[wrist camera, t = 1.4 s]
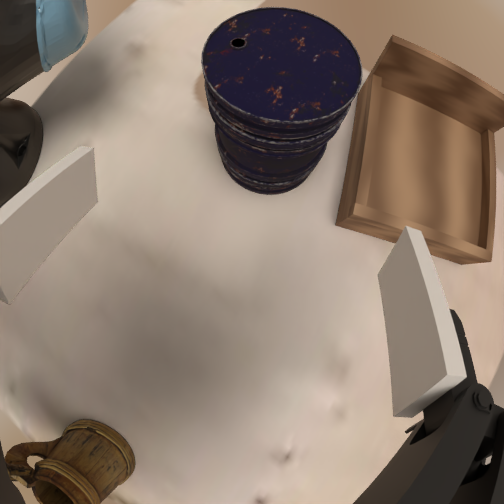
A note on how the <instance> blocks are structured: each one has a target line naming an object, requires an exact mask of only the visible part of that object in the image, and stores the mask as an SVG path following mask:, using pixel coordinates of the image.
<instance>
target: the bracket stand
mask: <svg viewBox="0 0 504 504" xmlns="http://www.w3.org/2000/svg"><path fill="white" fill-rule="evenodd" d="M502 127H504V94H502V93H501V92H499V91H498V90H496V89H495V88H493V87H492V86H490V85H489V84H487V83H486V82H484V81H482V80H481V79H479V78H478V77H476V76H474V75H473V74H471V73H469V72H467V71H466V70H464V69H462V68H461V67H459V66H457V65H455V64H453V63H451V62H450V61H448V60H446V59H444V58H442V57H440V56H438V55H436V54H434V53H432V52H430V51H428V50H426V49H424V48H422V47H419V46H417V45H415V44H413V43H411V42H408V41H406V40H404V39H402V38H399V37H397V36H394V35H392V36H391V38H390V40H389V42H388V43H387V45H386V47H385V49H384V50H383V52H382V54H381V56H380V57H379V59H378V61H377V62H376V64H375V66H374V68H373V70H372V71H371V73H370V74H369V76H368V78H367V79H366V81H365V83H364V85H363V86H362V88H361V90H360V91H359V93H358V98H357V105H356V113H355V119H354V126H353V133H352V139H351V145H350V151H349V157H348V163H347V168H346V174H345V179H344V185H343V190H342V195H341V200H340V205H339V210H338V215H337V220H336V226H340V227H343V228H347V229H350V230H353V231H357V232H360V233H364V234H367V235H370V236H374V237H377V238H380V239H384V240H387V241H390V242H393V243H396V242H397V241H398V239H399V237H400V235H401V233H402V231H403V230H404V228H405V226H408V227H411V228H414V229H417V230H420V231H421V232H422V234H423V237H424V239H425V242H426V244H427V247H428V249H429V252H430V254H431V255H434V256H437V257H440V258H443V259H446V260H449V261H452V262H455V263H458V264H461V265H462V264H473V263H484V262H491V260H492V251H493V241H494V229H495V212H496V158H495V140H494V132H496V131H498V130H499V129H501V128H502Z"/></svg>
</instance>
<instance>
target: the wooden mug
mask: <svg viewBox="0 0 504 504" xmlns="http://www.w3.org/2000/svg"><path fill="white" fill-rule="evenodd" d="M29 456H39V457H41V458H43V459H44V460H41V461H39V462H36V464H35V470H34V469H33V468H32V467H30V466H29V465H28V463H27V457H29ZM5 463H6V467H7V471H8V474H9V477H10V479H11V481H19V482H20V483H22V484H23V485H24V486H26V487H27V488H31V487H32V490H33V493H34V495H35V497H36V499H37V501H38V502H39V503H40V504H100V503H101V502H102V501H103V500H104V499H105V498H106V497H107V496H108V495H109V494H110V493H111V492H112V491H113V490H114V489H115V488H116V487H117V486H118V485H121V484H122V483H124V482H125V481H126V480H127V479H128V478H129V477H130V476H131V474H132V473H133V471H134V468H135V459H134V455H133V452H132V450H131V448H130V446H129V445H128V443H127V442H126V440H125V439H124V438H123V437H122V436H121V435H119V434H118V433H117V432H116V431H114V430H113V429H111V428H110V427H108V426H106V425H104V424H101V423H99V422H96V421H93V420H79V421H76V422H74V423H72V424H71V425H69V426H68V427H67V428H66V429H65V431H64V432H63V434H62V436H61V437H60V438H58V439H56V440H54V441H49V442H29V443H21V444H18V445H15V446H13V447H12V448H11V449H10V450H9V451H8V452H7V454H6V456H5Z"/></svg>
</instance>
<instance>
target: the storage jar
mask: <svg viewBox="0 0 504 504" xmlns="http://www.w3.org/2000/svg"><path fill="white" fill-rule="evenodd" d="M201 62H202V69H203V74H204V78H205V90H206V96H207V101H208V106H209V111H210V113H211V116H212V119H213V120H214V122H215V136H216V141H217V145H218V150H219V153H220V156H221V158H222V162H223V164H224V167H225V169H226V171H227V172H228V174H229V175H230V176H231V178H232V179H233V180H234V181H235V182H236V183H238V184H239V185H240V186H242V187H244V188H245V189H247V190H250V191H252V192H255V193H259V194H266V195H272V194H281V193H285V192H288V191H290V190H292V189H294V188H296V187H297V186H299V185H300V184H302V183H303V182H304V181H305V180H306V179H307V177H308V176H309V174H310V173H311V172H312V171H313V170H314V168H315V167H316V165H317V164H318V162H319V161H320V159H321V158H322V156H323V154H324V152H325V150H326V146H327V142H328V141H329V140H330V139H331V138H332V137H333V136H334V135H335V133H336V132H337V130H338V129H339V127H340V125H341V123H342V121H343V120H344V118H345V117H346V115H347V113H348V111H349V108H350V106H351V102H352V101H353V99H354V98H355V96H356V94H357V92H358V90H359V87H360V85H361V81H362V64H361V60H360V57H359V55H358V53H357V51H356V49H355V47H354V45H353V44H352V43H351V41H350V40H349V39H348V38H347V37H346V36H345V34H344V33H343V32H341V31H340V30H339V29H338V28H337V27H335V26H334V25H332V24H331V23H329V22H328V21H326V20H324V19H322V18H320V17H318V16H316V15H313V14H311V13H308V12H305V11H301V10H297V9H291V8H284V7H266V8H258V9H252V10H248V11H245V12H242V13H239V14H237V15H235V16H232V17H230V18H229V19H227V20H226V21H224V22H222V23H221V24H220V25H219V26H218V27H217V28H215V29H214V31H213V32H212V33H211V34H210V36H209V37H208V39H207V41H206V43H205V45H204V48H203V51H202V60H201Z"/></svg>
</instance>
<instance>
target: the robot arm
mask: <svg viewBox="0 0 504 504" xmlns="http://www.w3.org/2000/svg"><path fill="white" fill-rule="evenodd" d="M87 34H88V14H87V7H86V0H0V300H2V301H4V302H5V303H7V304H9V305H10V304H11V303H12V301H13V300H14V299H15V297H16V296H17V295H18V293H19V292H20V291H21V289H22V288H23V287H24V285H25V284H26V283H27V282H28V280H29V279H30V278H31V277H32V275H33V274H34V273H35V272H36V270H37V269H38V268H39V267H40V265H41V264H42V263H43V262H44V261H45V259H46V258H47V257H48V256H49V255H50V253H51V252H52V251H53V250H54V249H55V248H56V246H57V245H58V244H59V243H60V242H61V241H62V240H63V238H64V237H65V236H66V235H67V234H68V233H69V232H70V231H71V230H72V229H73V227H74V226H75V225H76V224H77V223H78V222H79V221H80V220H81V219H82V218H83V217H84V216H85V215H86V214H87V213H88V212H89V210H90V209H91V208H92V207H93V206H94V205H95V204H96V203H97V202H98V198H97V187H96V175H95V160H94V148H91V147H84V146H79V147H78V148H77V149H75V150H74V151H72V152H71V153H69V154H68V155H66V156H65V157H64V158H62V159H61V160H59V161H58V162H57V163H55V164H54V165H53V166H51V167H50V168H49V169H47V170H46V171H45V172H43V173H42V174H41V175H39V176H38V177H37V178H36V179H34V180H33V181H32V182H31V183H29V184H28V185H27V186H26V187H25V185H26V184H27V182H28V181H29V179H30V177H31V175H32V173H33V171H34V169H35V166H36V164H37V161H38V158H39V154H40V151H41V146H42V138H43V128H42V122H41V119H40V117H39V115H38V113H37V112H36V111H35V110H34V109H32V108H31V107H30V106H29V105H28V104H26V103H24V102H22V101H19V100H14V99H10V98H6V97H7V96H8V95H10V94H11V93H12V92H14V91H15V90H17V89H18V88H19V87H21V86H22V85H24V84H25V83H27V82H28V81H30V80H31V79H33V78H34V77H36V76H37V75H39V74H40V73H42V72H44V71H45V72H48V71H49V70H51V68H52V66H53V65H55V64H57V63H58V62H60V61H61V60H63V59H64V58H66V57H68V56H69V55H71V54H73V53H74V52H76V51H77V50H78V49H79V48H80V47H81V46H82V45H83V43H84V42H85V40H86V37H87ZM378 279H379V285H380V291H381V298H382V304H383V311H384V318H385V326H386V334H387V343H388V352H389V362H390V373H391V386H392V402H393V416H394V417H410V418H412V417H414V416H415V415H417V414H418V413H420V412H421V411H423V413H424V419H423V420H421V421H419V422H418V423H416V424H415V425H413V426H411V427H410V428H408V429H407V430H406V431H405V433H409V432H411V431H412V430H413V431H412V433H411V434H410V436H409V437H408V438H407V440H406V441H405V442H404V444H403V445H402V446H401V448H400V449H399V450H398V452H397V453H396V454H395V456H394V457H393V458H392V459H391V461H390V462H389V463H388V464H387V466H386V467H385V468H384V469H383V471H382V472H381V473H380V474H379V475H378V476H377V478H376V479H375V480H374V481H373V482H372V483H371V485H370V486H369V487H368V488H367V489H366V490H365V491H364V492H363V493H362V494H361V496H360V497H359V498H358V499H357V500H356V501H355V502H354V503H353V504H504V409H503V408H501V407H499V406H497V405H495V404H494V401H493V398H492V396H491V393H490V392H489V390H488V389H487V388H486V387H485V386H483V385H482V384H479V383H477V379H476V374H475V370H474V366H473V362H472V358H471V354H470V350H469V347H468V342H467V339H466V337H465V332H464V328H463V325H462V322H461V320H460V319H459V317H458V315H457V314H456V312H455V311H454V310H451V309H449V306H448V303H447V300H446V297H445V294H444V291H443V288H442V285H441V282H440V279H439V276H438V273H437V271H436V268H435V265H434V262H433V260H432V257H431V255H430V252H429V249H428V247H427V244H426V242H425V239H424V237H423V234H422V232H421V231H420V230H417V229H414V228H411V227H408V226H405V228H404V230H403V231H402V233H401V235H400V237H399V239H398V241H397V242H396V244H395V246H394V248H393V249H392V251H391V253H390V255H389V256H388V258H387V260H386V262H385V263H384V265H383V267H382V268H381V270H380V272H379V273H378ZM491 455H492V458H491V462H490V463H489V464H487V465H485V460H486V458H487V457H489V456H491ZM0 504H25V501H24V499H23V497H22V495H21V493H20V491H19V490H18V488H17V487H16V486H15V485H14V484H13V483H12V481H11V479H10V477H9V474H8V471H7V467H6V463H5V459H4V455H3V451H2V447H1V442H0Z"/></svg>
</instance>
